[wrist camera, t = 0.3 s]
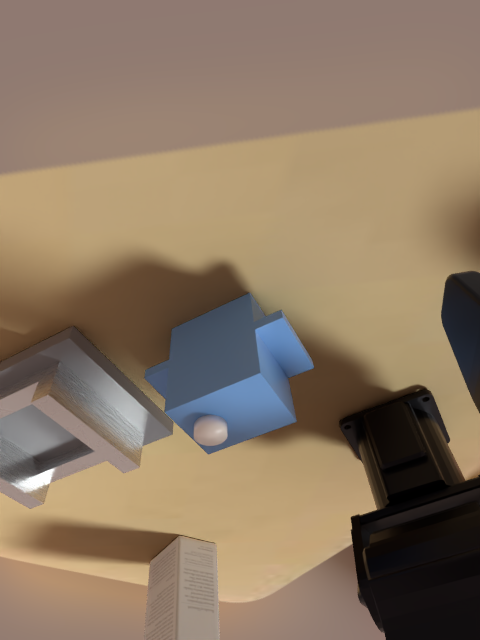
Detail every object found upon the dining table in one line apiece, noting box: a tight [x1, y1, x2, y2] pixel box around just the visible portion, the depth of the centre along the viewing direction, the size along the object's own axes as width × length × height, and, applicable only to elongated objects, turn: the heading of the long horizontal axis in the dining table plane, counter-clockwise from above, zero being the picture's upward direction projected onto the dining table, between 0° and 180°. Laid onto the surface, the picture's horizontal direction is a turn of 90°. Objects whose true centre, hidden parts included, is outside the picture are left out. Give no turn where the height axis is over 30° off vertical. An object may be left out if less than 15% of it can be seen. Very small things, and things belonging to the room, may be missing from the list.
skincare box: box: [144, 536, 219, 640], centre depth 39 cm, size 6×4×12 cm
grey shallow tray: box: [0, 326, 173, 509], centre depth 28 cm, size 10×12×4 cm
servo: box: [144, 293, 314, 454], centre depth 24 cm, size 4×8×7 cm, turn 118°
